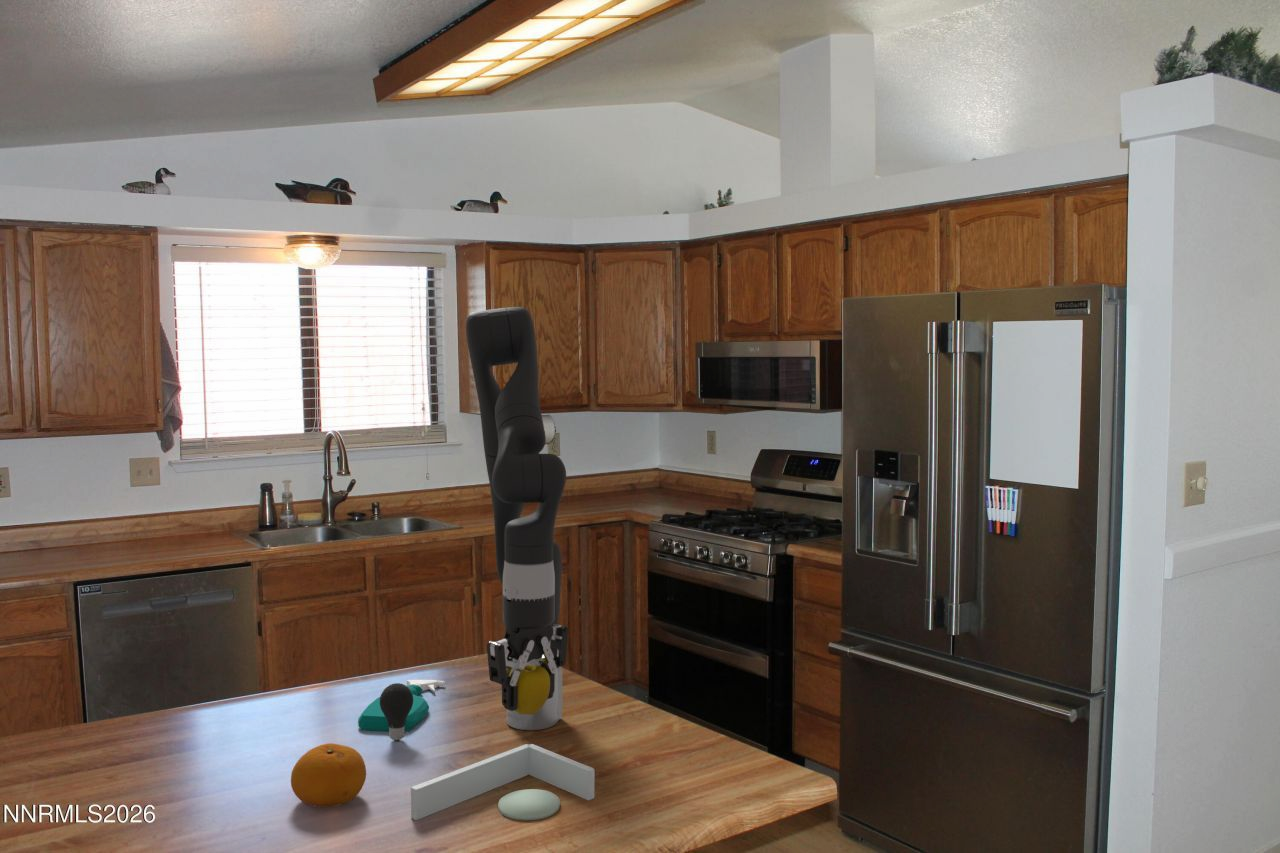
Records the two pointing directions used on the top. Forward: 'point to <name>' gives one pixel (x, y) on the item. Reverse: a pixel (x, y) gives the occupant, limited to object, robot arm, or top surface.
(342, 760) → the fruit
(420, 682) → the spray bottle
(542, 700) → the apple
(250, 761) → the top surface
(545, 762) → the grey corner wall
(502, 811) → the pad
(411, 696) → the light bulb
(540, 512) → the robot arm
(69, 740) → the top surface
